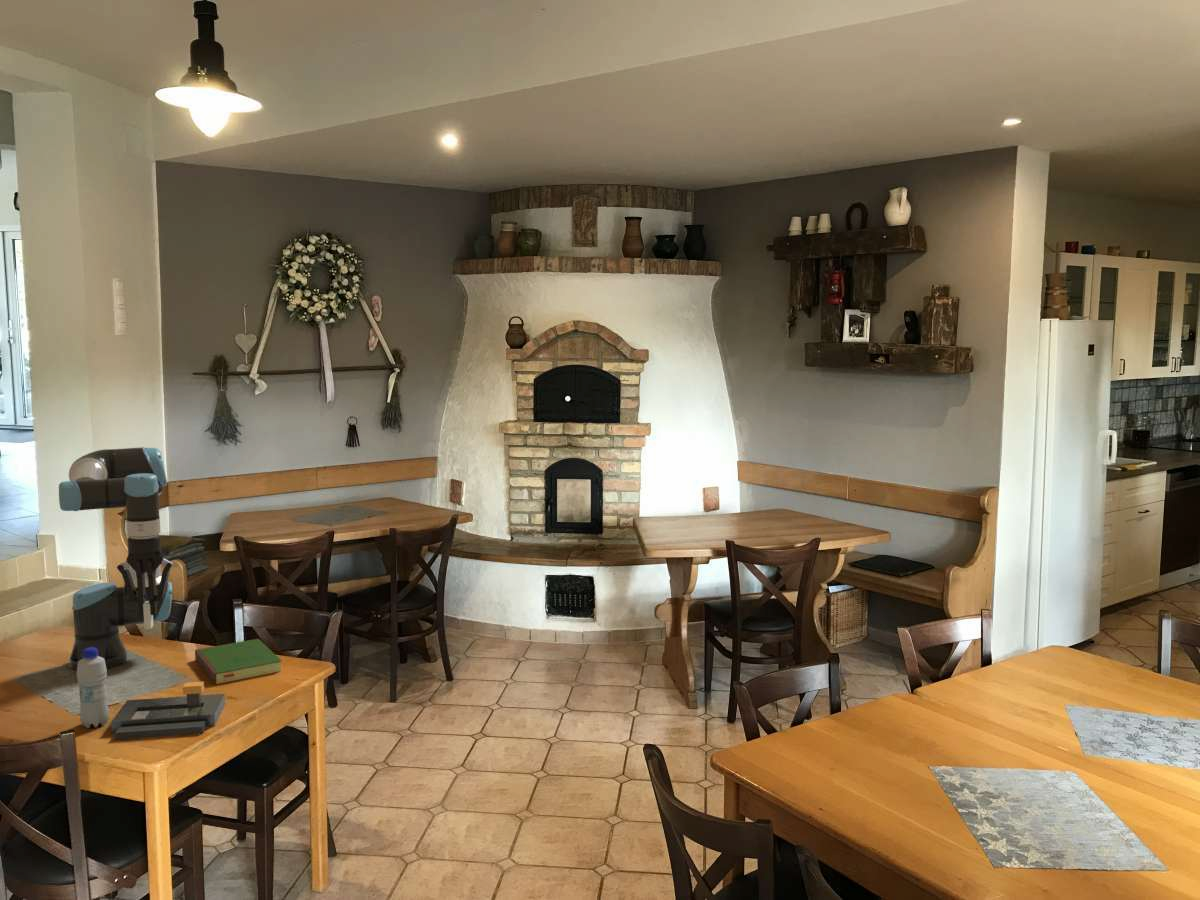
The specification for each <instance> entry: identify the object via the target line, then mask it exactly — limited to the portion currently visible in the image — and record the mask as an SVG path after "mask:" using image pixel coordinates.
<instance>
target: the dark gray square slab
mask: <svg viewBox="0 0 1200 900" xmlns="http://www.w3.org/2000/svg"><path fill="white" fill-rule="evenodd" d="M206 729H207V726H206V721H192V722H179V723H165V724H151V725H137V726H123V727H119V728H118V729H117V731H116V732H115V733H114V740H115V741H119V740H122V741H123V740H130V739H131V740H132V739H135V740H137V739H148V738H149V739H150V738H159V737H174V736H175V737H176V736H188V735H199V734H200V735H201V734H204V732H205V731H206Z"/></svg>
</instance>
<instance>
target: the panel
mask: <svg viewBox="0 0 1200 900" xmlns="http://www.w3.org/2000/svg"><path fill="white" fill-rule="evenodd" d="M201 705H202V707H194V708H187V695H186V696H184V695H183V696H170V697H169V696H168V697H157V698H155V697H153V698H141V699H126V701H125V702H124V704H123V705H122V706H121V708H119V710H118V712H117V713H116V714H115V716H114V717H113V718H112V720H111V721H110V726H111V727H110V728H111V729H110V730H111V734H115V732H116V731H117V729H118V728H119V727H123V726H137V725H151V724H165V723H179V722H192V721H206V727H215V726H216V724H217V723H218V720H219V718H220V716H221V715H222V712H223V710H224V708H225V706H226V693H217V694H215V693H214V694H201Z"/></svg>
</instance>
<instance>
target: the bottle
mask: <svg viewBox="0 0 1200 900" xmlns="http://www.w3.org/2000/svg"><path fill="white" fill-rule="evenodd" d="M107 671H108V668H106V664H105V660H104V658H102V657H99V656H98V650H97V648H94V647H90V648H86V649H84V651H83V659H82V660H80V661H79V662H78V666H77V670H76V678H77V679H76V680H77V682H78V688H79V702H80V703H79V704H80V705H79V707H80V708H79V717H80V723H81V725H82V726H83V727H86V728H87V729H90V728H91V726H92V725H93V727H94V728H98V727H99V725H100V726H104V725H105V724H107V723H106V722H108V720H109V717H110V716H109V705H108V698H107V697H108V696H107V695H108V693H107V681H106V680H107V676H108V675H107V673H108V672H107Z"/></svg>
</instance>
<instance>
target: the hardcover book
mask: <svg viewBox="0 0 1200 900" xmlns="http://www.w3.org/2000/svg"><path fill="white" fill-rule="evenodd" d="M194 656H195V660H194V661H195V662H196V663H197V664H198V665H199V667H200V668H201V669H202V671H203V672H204V673H205V675H207V677H208V678H209V679H210V681H211V683H212V684H213V685H214V686H215V685H216V686H217V685H219V684H224V683H229V682H233V681H240V680H245V679H250V678H255V677H259V676H264V675H270V674H275V673H279V672H280V673H281V671H282V667H281V666H282V665H281V664H282V663H281V662H282V660H281V658H279V657H278V655H276V654H275V652H273V651H272V650H271V649H270V648H269V647H268V646H267V645H266V644H265V643H264V642H263V641H262V640H260V638H256V639H254V638H253V639H249V640H244V641H237V642H231V643H227V644H221V645H216V646H209V647H204V648H199V649H194Z"/></svg>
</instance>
